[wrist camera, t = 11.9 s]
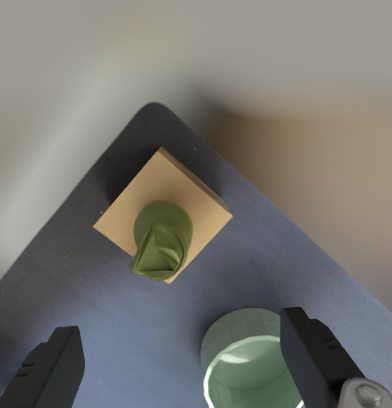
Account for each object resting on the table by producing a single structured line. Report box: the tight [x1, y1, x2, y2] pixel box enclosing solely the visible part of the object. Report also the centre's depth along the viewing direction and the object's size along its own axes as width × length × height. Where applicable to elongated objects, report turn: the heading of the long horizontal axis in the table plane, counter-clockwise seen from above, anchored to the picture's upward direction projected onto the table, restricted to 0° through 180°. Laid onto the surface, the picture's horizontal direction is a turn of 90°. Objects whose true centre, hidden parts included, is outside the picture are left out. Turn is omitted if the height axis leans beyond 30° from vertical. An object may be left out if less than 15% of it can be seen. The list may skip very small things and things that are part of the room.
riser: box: [93, 146, 233, 284], centre depth 35 cm, size 10×10×8 cm
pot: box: [200, 308, 304, 408], centre depth 42 cm, size 14×14×6 cm
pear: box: [130, 201, 193, 281], centre depth 26 cm, size 6×5×10 cm
